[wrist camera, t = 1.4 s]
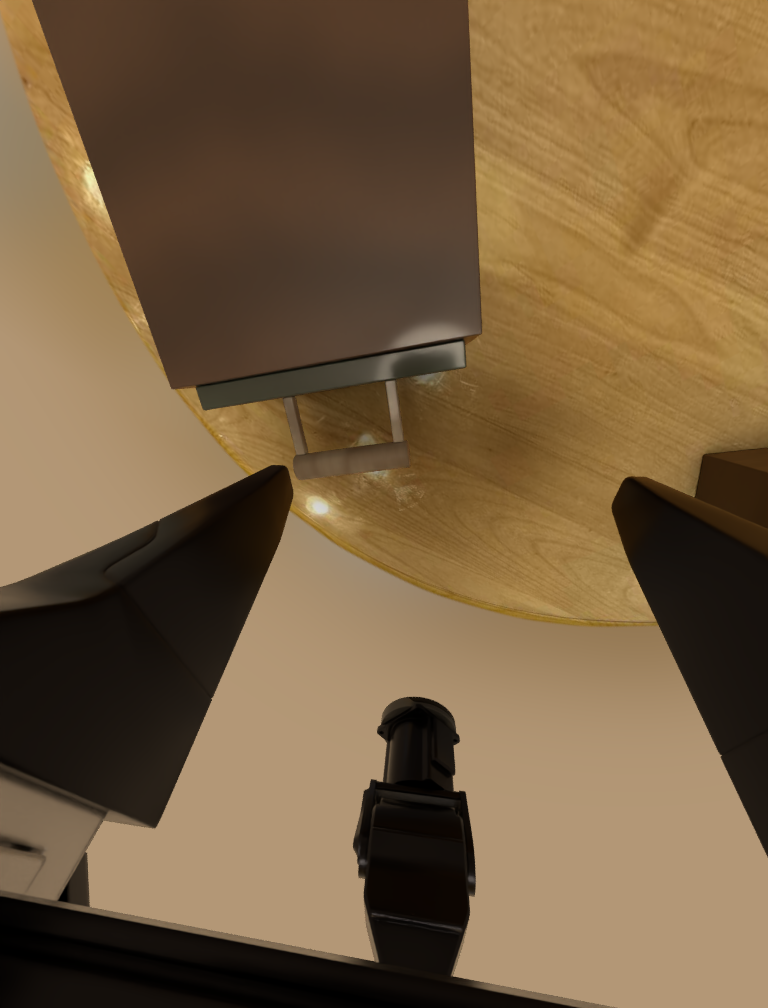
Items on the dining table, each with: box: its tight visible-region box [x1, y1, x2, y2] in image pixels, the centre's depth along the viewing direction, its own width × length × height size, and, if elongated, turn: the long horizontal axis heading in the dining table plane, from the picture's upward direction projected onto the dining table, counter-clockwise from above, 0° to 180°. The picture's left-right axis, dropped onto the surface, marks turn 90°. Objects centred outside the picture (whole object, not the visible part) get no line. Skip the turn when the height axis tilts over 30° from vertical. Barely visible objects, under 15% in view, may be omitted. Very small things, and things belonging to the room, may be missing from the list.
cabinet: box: [32, 0, 482, 389], centre depth 16 cm, size 17×15×9 cm
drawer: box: [196, 339, 466, 480], centre depth 17 cm, size 21×14×7 cm, turn 9°
